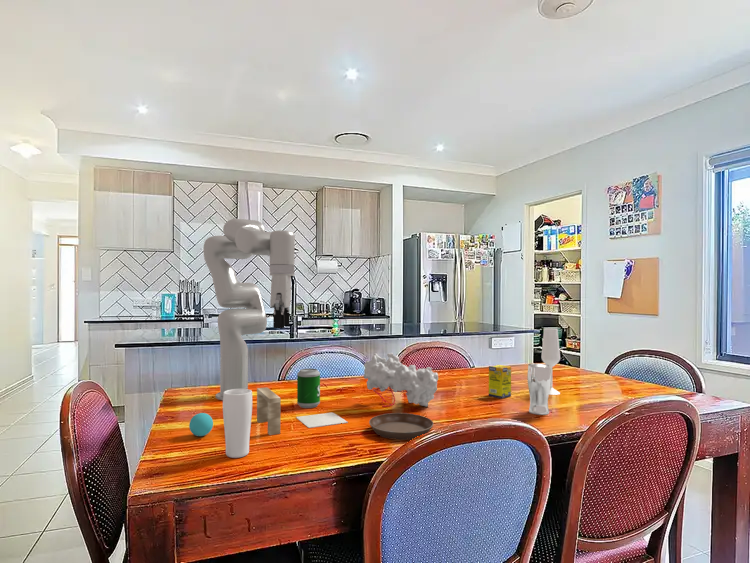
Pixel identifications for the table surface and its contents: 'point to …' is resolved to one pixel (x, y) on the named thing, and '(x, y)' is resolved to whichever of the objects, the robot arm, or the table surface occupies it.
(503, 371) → the supplement box
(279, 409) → the bridge
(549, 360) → the champagne flute
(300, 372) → the soda can
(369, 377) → the molecular structure model
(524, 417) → the table surface
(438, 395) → the table surface
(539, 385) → the white vase
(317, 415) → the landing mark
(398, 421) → the plant saucer
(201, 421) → the ball
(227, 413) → the drinking glass
